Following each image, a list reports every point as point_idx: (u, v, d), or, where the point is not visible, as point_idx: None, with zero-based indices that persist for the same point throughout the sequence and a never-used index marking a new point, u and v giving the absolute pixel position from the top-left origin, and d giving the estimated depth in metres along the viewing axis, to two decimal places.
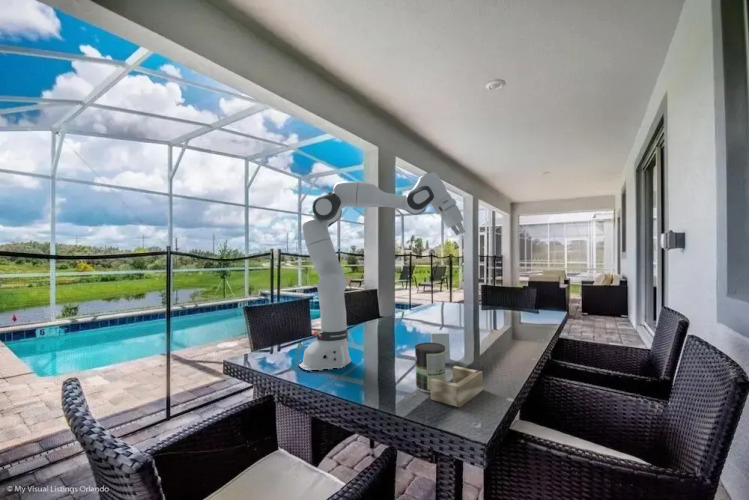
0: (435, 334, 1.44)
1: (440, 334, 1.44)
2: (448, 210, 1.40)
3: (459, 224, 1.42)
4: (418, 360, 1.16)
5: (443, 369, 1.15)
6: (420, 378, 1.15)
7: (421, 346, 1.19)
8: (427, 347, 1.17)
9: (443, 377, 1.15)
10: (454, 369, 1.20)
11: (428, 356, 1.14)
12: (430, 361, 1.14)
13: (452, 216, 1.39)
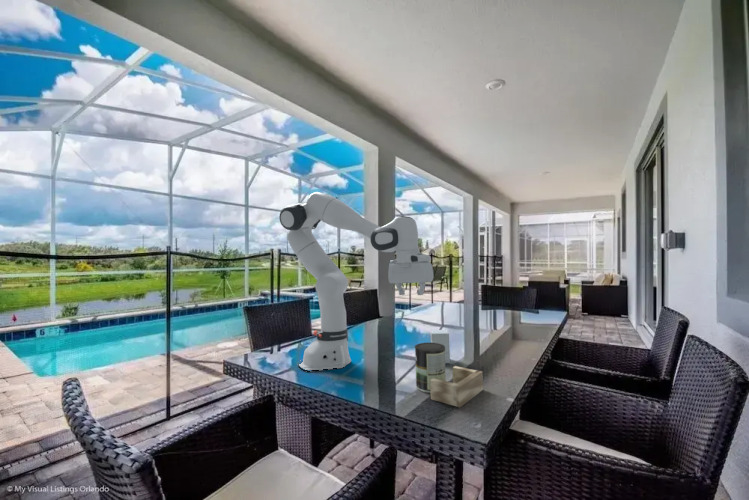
0: (435, 334, 1.44)
1: (440, 334, 1.44)
2: (424, 264, 1.23)
3: (423, 284, 1.25)
4: (418, 360, 1.16)
5: (443, 369, 1.15)
6: (420, 378, 1.15)
7: (421, 346, 1.19)
8: (427, 347, 1.17)
9: (443, 377, 1.15)
10: (454, 369, 1.20)
11: (428, 356, 1.14)
12: (430, 361, 1.14)
13: (426, 272, 1.22)
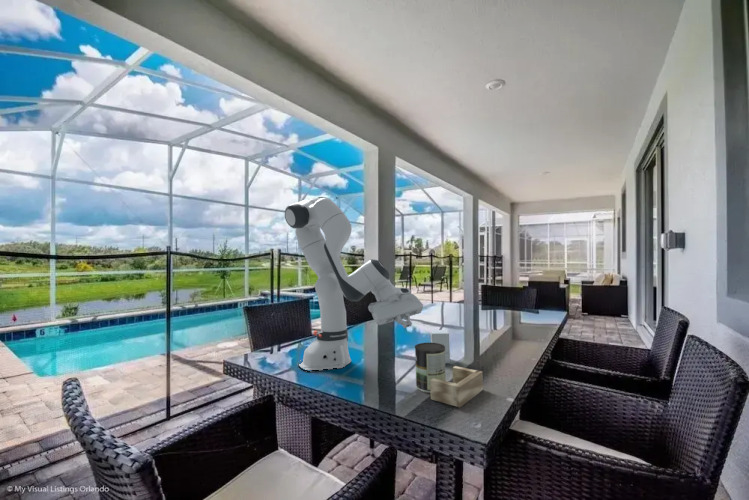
0: (435, 334, 1.44)
1: (440, 334, 1.44)
2: None
3: None
4: (418, 360, 1.16)
5: (443, 369, 1.15)
6: (420, 378, 1.15)
7: (421, 346, 1.19)
8: (427, 347, 1.17)
9: (443, 377, 1.15)
10: (454, 369, 1.20)
11: (428, 356, 1.14)
12: (430, 361, 1.14)
13: None
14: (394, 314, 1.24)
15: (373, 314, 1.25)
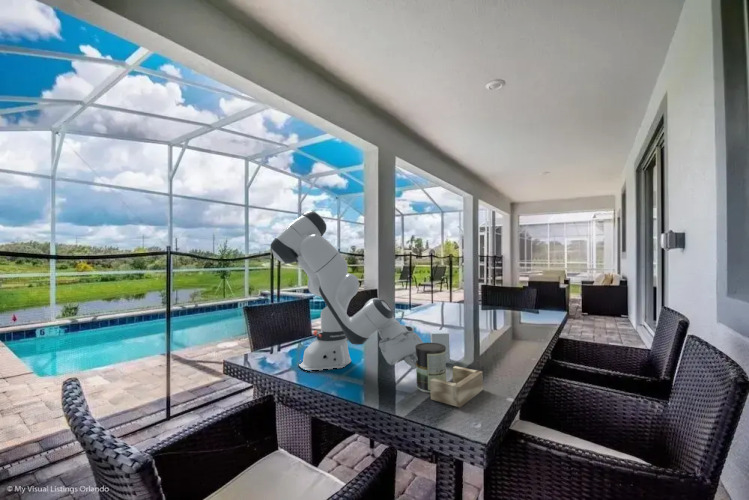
0: (435, 334, 1.44)
1: (440, 334, 1.44)
2: None
3: None
4: (418, 360, 1.16)
5: (444, 369, 1.15)
6: (421, 378, 1.15)
7: (422, 346, 1.19)
8: (428, 347, 1.17)
9: (444, 377, 1.15)
10: (454, 369, 1.20)
11: (428, 356, 1.14)
12: (431, 361, 1.13)
13: None
14: (405, 354, 1.21)
15: (385, 353, 1.18)
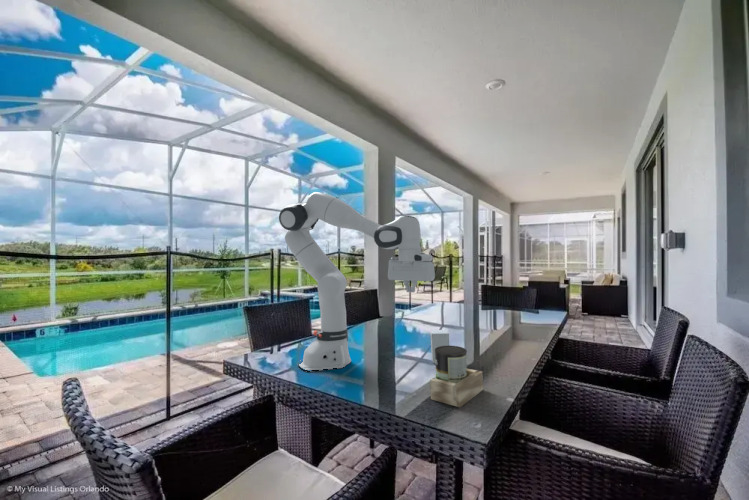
0: (435, 334, 1.44)
1: (440, 334, 1.44)
2: (427, 263, 1.28)
3: (415, 282, 1.33)
4: (438, 364, 1.11)
5: (465, 373, 1.11)
6: None
7: (441, 349, 1.14)
8: (448, 351, 1.13)
9: None
10: None
11: (449, 360, 1.09)
12: (452, 365, 1.09)
13: (429, 271, 1.27)
14: (400, 279, 1.35)
15: None
